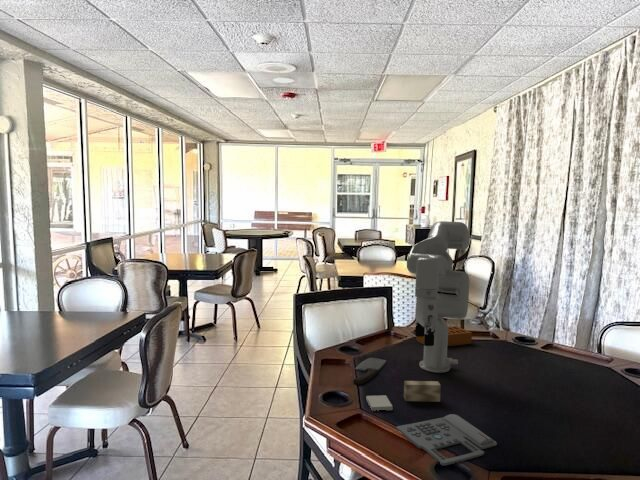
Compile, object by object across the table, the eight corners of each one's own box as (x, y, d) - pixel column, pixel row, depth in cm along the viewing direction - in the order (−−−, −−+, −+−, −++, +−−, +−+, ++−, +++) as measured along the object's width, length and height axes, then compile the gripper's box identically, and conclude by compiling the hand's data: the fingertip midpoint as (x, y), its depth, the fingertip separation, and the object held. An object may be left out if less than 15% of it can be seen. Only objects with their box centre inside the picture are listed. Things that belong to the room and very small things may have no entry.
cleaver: (366, 387, 155) (366, 381, 155) (341, 382, 159) (341, 376, 159) (387, 362, 182) (388, 357, 182) (366, 358, 186) (366, 353, 186)
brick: (455, 337, 221) (456, 326, 221) (471, 344, 210) (472, 332, 209) (415, 341, 212) (416, 329, 212) (430, 348, 201) (430, 336, 200)
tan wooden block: (437, 397, 148) (437, 381, 147) (439, 401, 144) (440, 385, 144) (403, 397, 147) (404, 380, 147) (405, 401, 144) (406, 384, 144)
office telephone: (456, 410, 135) (506, 442, 116) (456, 418, 135) (506, 451, 116) (396, 422, 125) (440, 459, 107) (395, 430, 125) (439, 469, 107)
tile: (385, 395, 145) (366, 395, 144) (392, 406, 137) (371, 406, 136) (385, 400, 145) (366, 400, 144) (392, 411, 137) (371, 412, 136)
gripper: (446, 298, 136) (443, 349, 137) (428, 287, 153) (426, 333, 154) (423, 298, 135) (421, 349, 136) (408, 287, 152) (406, 333, 154)
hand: (424, 340), depth 145 cm, fingers open, 9 cm apart
